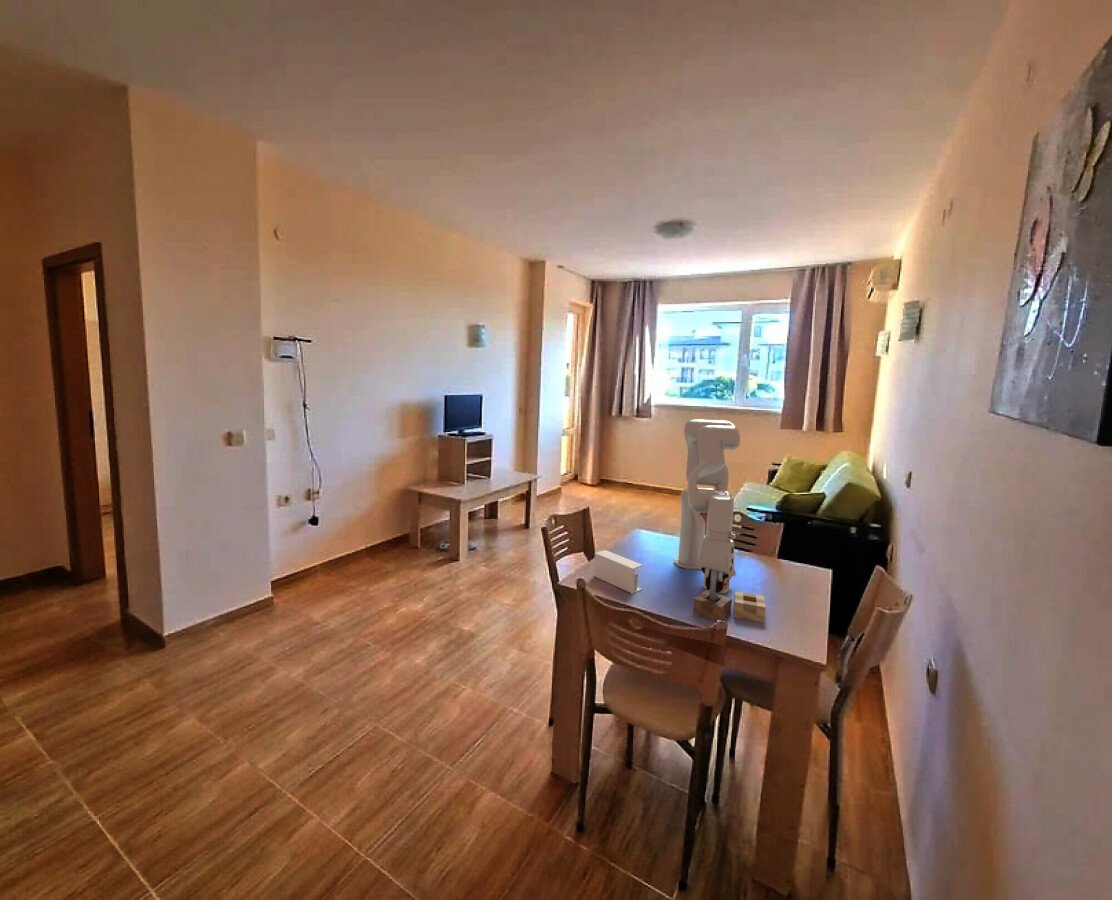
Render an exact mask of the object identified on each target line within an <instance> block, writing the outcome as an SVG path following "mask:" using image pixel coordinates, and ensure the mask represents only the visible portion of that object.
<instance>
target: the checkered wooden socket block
mask: <svg viewBox="0 0 1112 900" xmlns="http://www.w3.org/2000/svg"><path fill="white" fill-rule="evenodd" d="M733 600H734V601H733V618H737V619H743V620H748V621H754V622H760V623H765V617H766V600H765V595H761V594H754V593H749V592H742V591H736V590H735V591H734V598H733Z"/></svg>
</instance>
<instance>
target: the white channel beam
mask: <svg viewBox="0 0 1112 900" xmlns="http://www.w3.org/2000/svg"><path fill="white" fill-rule="evenodd" d="M593 565H594V569H593V571H594V572H593V577H594V578H597V579H599V580H602V581H604V582H606V583H608V584H610V585H611V586H614V587H617V588H619V589H621V590H623V591H625V592H628V593H630V595H633V594H635V593H637V592H640V591H642V588H640V587H638V582H639V581H638V580H639V579H638V577H639V573H637V572H636V569H639V568H643V567H644V565H643V564H641V563H639V562H636V561H634V560H632V559H629V558H626V557H623V556H621V555H619V554H616V553H615V552H611V551H609V550H607V549H605V550H600V551H598V552H597V551H596V552H595V553H594V564H593Z"/></svg>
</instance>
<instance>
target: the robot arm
mask: <svg viewBox="0 0 1112 900" xmlns="http://www.w3.org/2000/svg"><path fill="white" fill-rule="evenodd" d="M683 428H684V429H683V433H684V434H683V435H684V439H685V442H686V447H687V459H686V460H687V461H686V468H685V469H686V471H685V477H686V481H687V487H686V488H684V489H682V491H681V493H680V497H679V498H680V499H679V500H680V511H681V512H680V513H681V514H680V515H681V517H680V528H679V530H680V531H679V532H680V533H679V543H678V546H679V547H678V555H677V557H675V558H674V559H673V563H674V564H675V565H676V566H677V567H679V568H682V569H686V570H691V571H694V570H695V571H696V570H698V571H699V570H700V571H701V572H702V573H703V575H705V577H706V583H705V586H706V589H705V590H706V591H707V590H709V589H710V578H711V569H712V570H716V571H719V578H718V580H717V584H716V593H718V594H719V592H720V591H721V590H723V584H724V579H726V578H728V577H732V578H733V577H735V576H736V575H737V573H736V570H735V561H736V559H735V543H734V540H733V539H736V534H735V533H733V530H732V529H733V528H732V527H733V517H734V516H733V515H734V504H735V501H734V500H735V499H734V496H733V495H732V493H731V492H730V491H728V489H729V488H728V486H729V469H728V466H727V464H726V460H725V459H726V458H725V452H724V451H725V450H729V451H732V450H733V451H735V450H737V449H738V448H739V447H740V444H741V436H740V435H741V434H740V431H739V429H738V427H737V426H736V425H735V424H734V423H733V422H732V421H728V420H718V419H691V420H688V421H686V422H685V423H684V426H683ZM698 486H708V487H709V488H708V487H707V488H706V487H698ZM710 487H714V488H710ZM700 513H707V517H706V521H705V519H704V518H703V516H702V515H701V514H700ZM729 571H730V572H729ZM728 572H729V573H728Z"/></svg>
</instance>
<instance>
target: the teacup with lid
mask: <svg viewBox="0 0 1112 900" xmlns="http://www.w3.org/2000/svg"><path fill="white" fill-rule="evenodd" d="M729 572H730V571H729ZM729 572H728V573H729ZM703 575H704V574H703ZM732 578H733V577H728V578H726V579H724V584H723V590H721V591H720V592H719V593H718V594H720V595H722V594H726V593H728V592H729V589H730V588H729V587H730V580H731V579H732ZM705 583H706V577H705V575H704V576H703V589H704V590H706V586H705ZM709 590H710V589H709ZM709 590H706V591H709Z"/></svg>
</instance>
